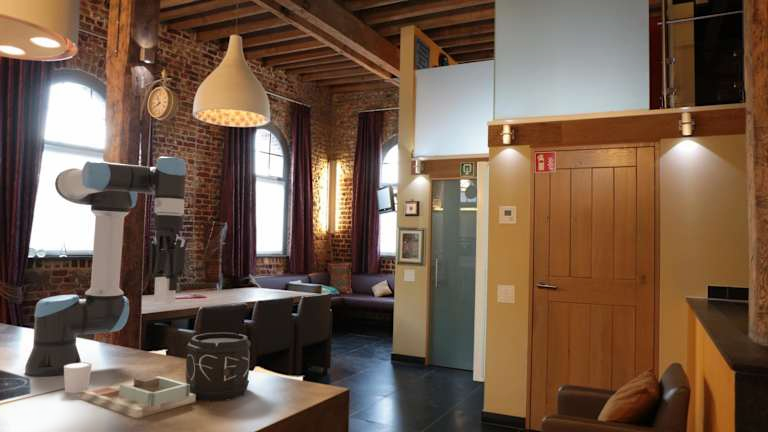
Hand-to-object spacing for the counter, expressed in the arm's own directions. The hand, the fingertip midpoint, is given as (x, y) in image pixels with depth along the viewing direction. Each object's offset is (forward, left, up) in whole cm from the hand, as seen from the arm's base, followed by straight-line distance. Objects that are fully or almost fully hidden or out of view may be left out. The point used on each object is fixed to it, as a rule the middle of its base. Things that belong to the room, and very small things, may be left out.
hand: (164, 301), depth 146 cm
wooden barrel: (+5, +15, -27) cm, 31 cm away
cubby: (0, -2, -25) cm, 25 cm away
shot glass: (-27, -8, -27) cm, 39 cm away
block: (-4, -2, -25) cm, 25 cm away
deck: (-6, -2, -27) cm, 27 cm away
